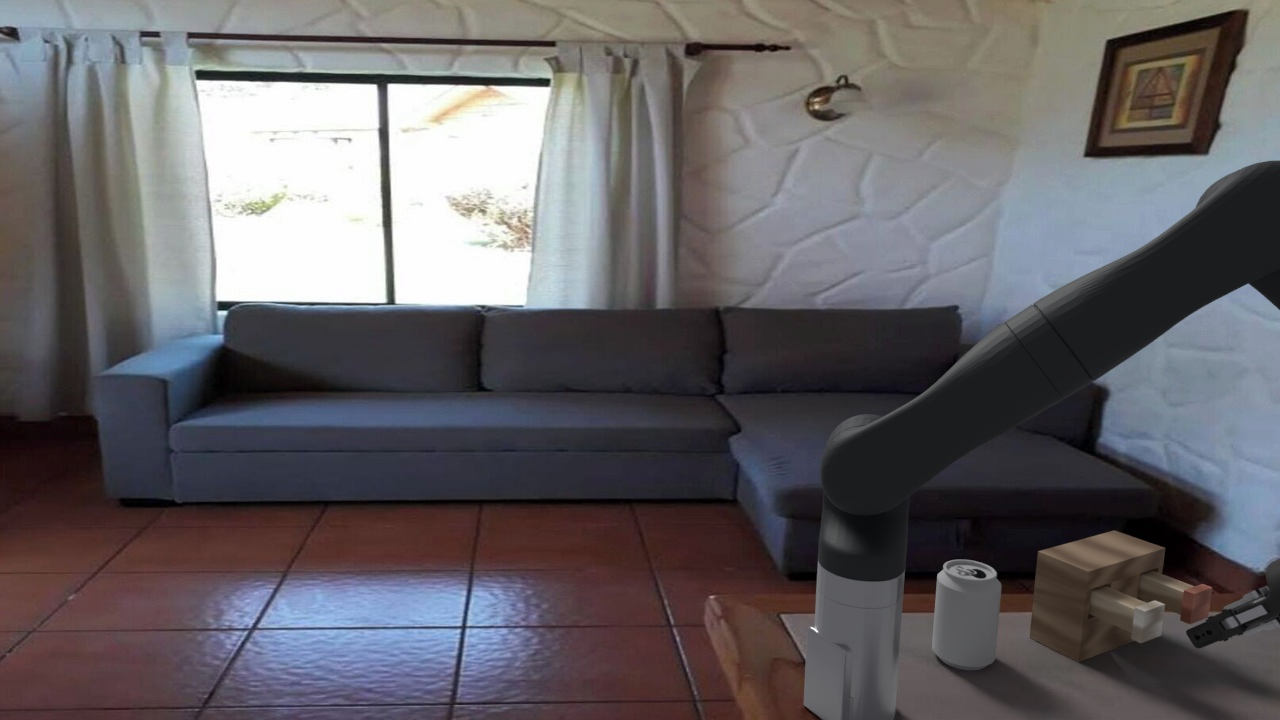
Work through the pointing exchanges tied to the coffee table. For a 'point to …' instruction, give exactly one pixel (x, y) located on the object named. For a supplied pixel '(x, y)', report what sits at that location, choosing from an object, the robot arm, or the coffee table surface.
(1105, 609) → the key cream
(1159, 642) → the coffee table surface
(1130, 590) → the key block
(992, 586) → the can
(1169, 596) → the key red
